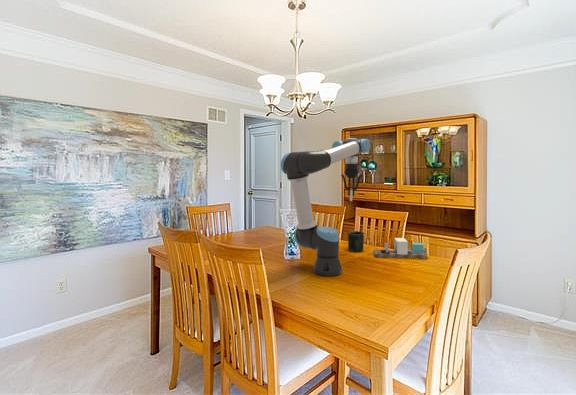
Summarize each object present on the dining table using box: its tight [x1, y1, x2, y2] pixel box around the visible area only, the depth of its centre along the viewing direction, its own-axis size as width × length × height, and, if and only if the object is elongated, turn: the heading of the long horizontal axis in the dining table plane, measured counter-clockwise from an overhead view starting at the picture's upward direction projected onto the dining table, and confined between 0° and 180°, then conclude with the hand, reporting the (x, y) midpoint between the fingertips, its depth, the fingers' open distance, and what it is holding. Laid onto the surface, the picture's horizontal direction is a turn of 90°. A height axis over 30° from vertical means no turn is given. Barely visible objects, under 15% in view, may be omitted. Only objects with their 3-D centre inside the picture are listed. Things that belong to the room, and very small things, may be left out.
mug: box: [347, 230, 365, 253], centre depth 217 cm, size 11×15×12 cm
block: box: [410, 242, 425, 252], centre depth 200 cm, size 6×4×4 cm
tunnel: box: [393, 237, 409, 255], centre depth 201 cm, size 6×10×8 cm, turn 172°
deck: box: [372, 248, 428, 260], centre depth 202 cm, size 30×11×2 cm, turn 82°
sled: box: [384, 242, 428, 255], centre depth 201 cm, size 24×7×5 cm, turn 82°
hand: (351, 200), depth 204 cm, fingers closed
